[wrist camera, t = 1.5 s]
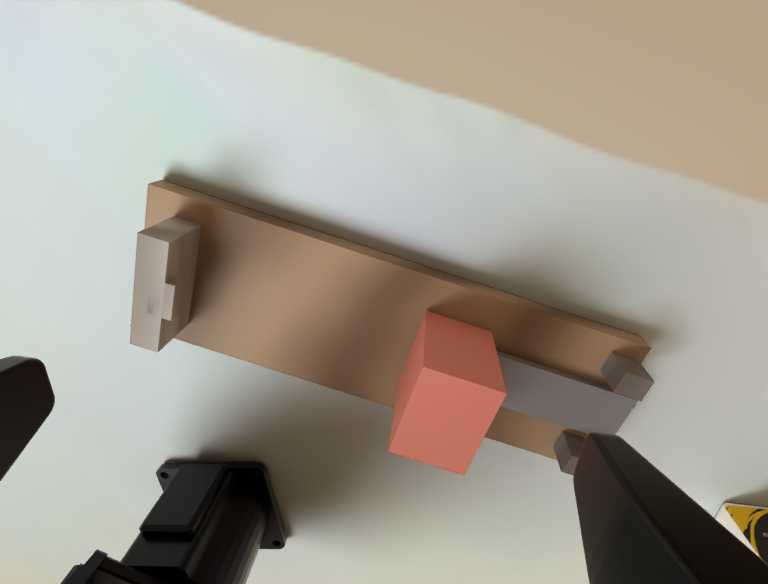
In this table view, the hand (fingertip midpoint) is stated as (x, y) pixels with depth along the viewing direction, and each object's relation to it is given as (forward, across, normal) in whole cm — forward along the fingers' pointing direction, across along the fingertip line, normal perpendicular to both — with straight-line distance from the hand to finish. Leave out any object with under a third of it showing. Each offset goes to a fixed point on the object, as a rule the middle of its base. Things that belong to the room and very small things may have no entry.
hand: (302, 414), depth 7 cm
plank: (+13, 0, +5) cm, 14 cm away
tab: (+11, -6, +7) cm, 15 cm away
